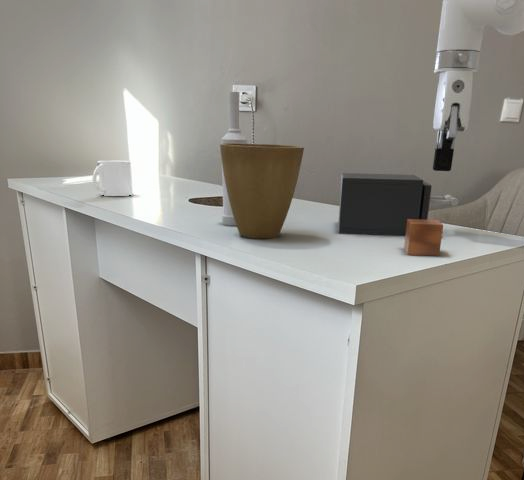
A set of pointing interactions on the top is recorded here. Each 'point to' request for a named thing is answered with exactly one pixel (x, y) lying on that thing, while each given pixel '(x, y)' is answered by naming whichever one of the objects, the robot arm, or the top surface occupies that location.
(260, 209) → the plant pot
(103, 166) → the mug
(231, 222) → the bottle
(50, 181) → the top surface
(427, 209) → the drawer
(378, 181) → the cabinet
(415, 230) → the block
